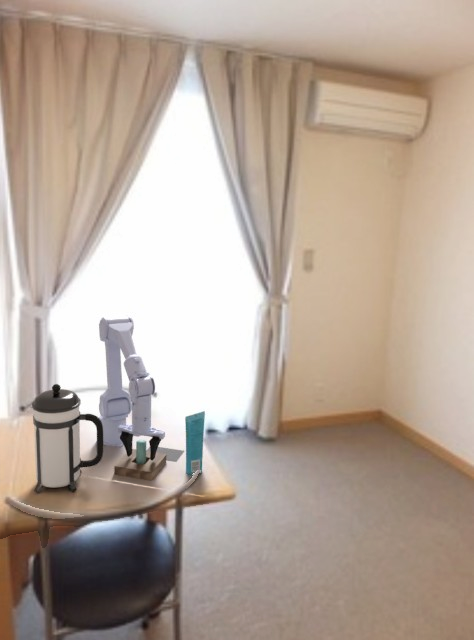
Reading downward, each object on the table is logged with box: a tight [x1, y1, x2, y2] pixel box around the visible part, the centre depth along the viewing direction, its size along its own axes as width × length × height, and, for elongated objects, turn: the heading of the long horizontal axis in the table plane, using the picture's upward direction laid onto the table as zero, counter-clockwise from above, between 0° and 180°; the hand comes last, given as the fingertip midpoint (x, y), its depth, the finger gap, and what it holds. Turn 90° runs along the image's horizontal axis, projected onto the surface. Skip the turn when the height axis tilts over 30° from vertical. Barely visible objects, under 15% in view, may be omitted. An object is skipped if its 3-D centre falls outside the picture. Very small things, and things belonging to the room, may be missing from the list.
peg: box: [135, 439, 147, 464], centre depth 155 cm, size 3×3×9 cm
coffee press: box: [27, 383, 104, 494], centre depth 144 cm, size 17×16×30 cm
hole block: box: [113, 448, 167, 481], centre depth 156 cm, size 12×12×3 cm
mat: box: [146, 446, 185, 463], centre depth 166 cm, size 12×8×1 cm, turn 77°
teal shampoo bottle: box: [185, 410, 206, 476], centre depth 154 cm, size 7×5×19 cm, turn 140°
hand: (141, 456), depth 156 cm, fingers open, 7 cm apart
